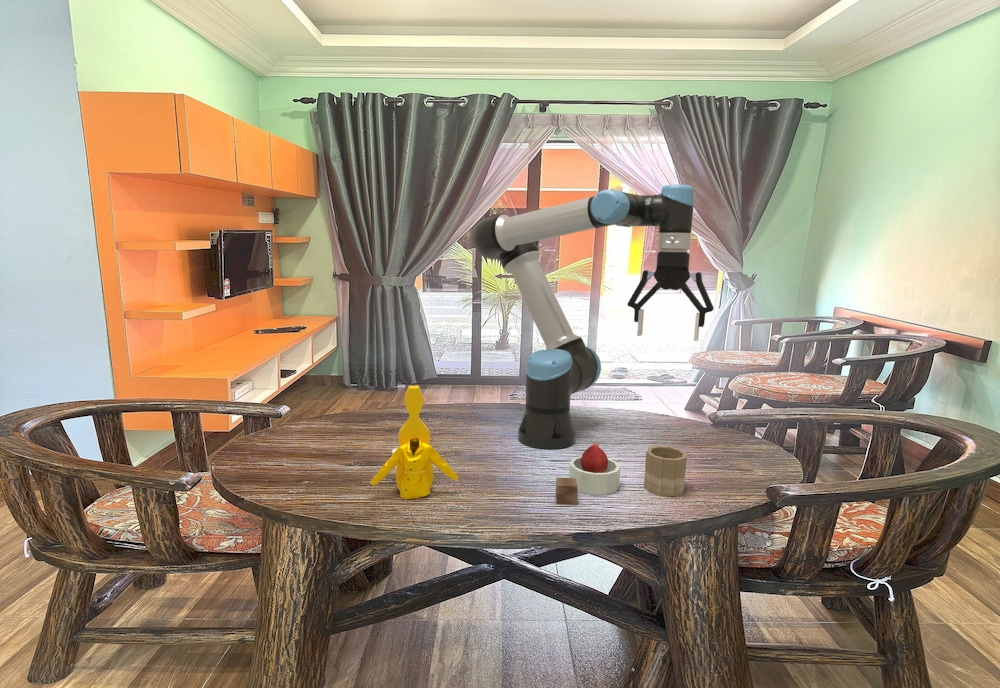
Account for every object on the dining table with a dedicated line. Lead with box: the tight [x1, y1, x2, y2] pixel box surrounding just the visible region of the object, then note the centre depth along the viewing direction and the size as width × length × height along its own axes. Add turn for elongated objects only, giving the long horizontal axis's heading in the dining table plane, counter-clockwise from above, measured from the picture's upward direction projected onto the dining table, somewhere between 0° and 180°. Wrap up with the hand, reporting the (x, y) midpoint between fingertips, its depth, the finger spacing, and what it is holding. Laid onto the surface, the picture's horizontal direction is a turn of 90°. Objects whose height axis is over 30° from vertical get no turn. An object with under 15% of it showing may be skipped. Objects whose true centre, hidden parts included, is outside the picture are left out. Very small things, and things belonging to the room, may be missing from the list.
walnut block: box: [555, 476, 579, 506], centre depth 112 cm, size 4×4×4 cm
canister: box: [643, 445, 688, 497], centre depth 118 cm, size 8×8×8 cm
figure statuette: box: [369, 384, 460, 500], centre depth 113 cm, size 18×8×22 cm, turn 100°
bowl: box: [568, 455, 621, 496], centre depth 120 cm, size 10×10×4 cm
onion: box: [581, 441, 609, 473], centre depth 121 cm, size 6×6×8 cm
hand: (667, 337), depth 138 cm, fingers open, 13 cm apart
